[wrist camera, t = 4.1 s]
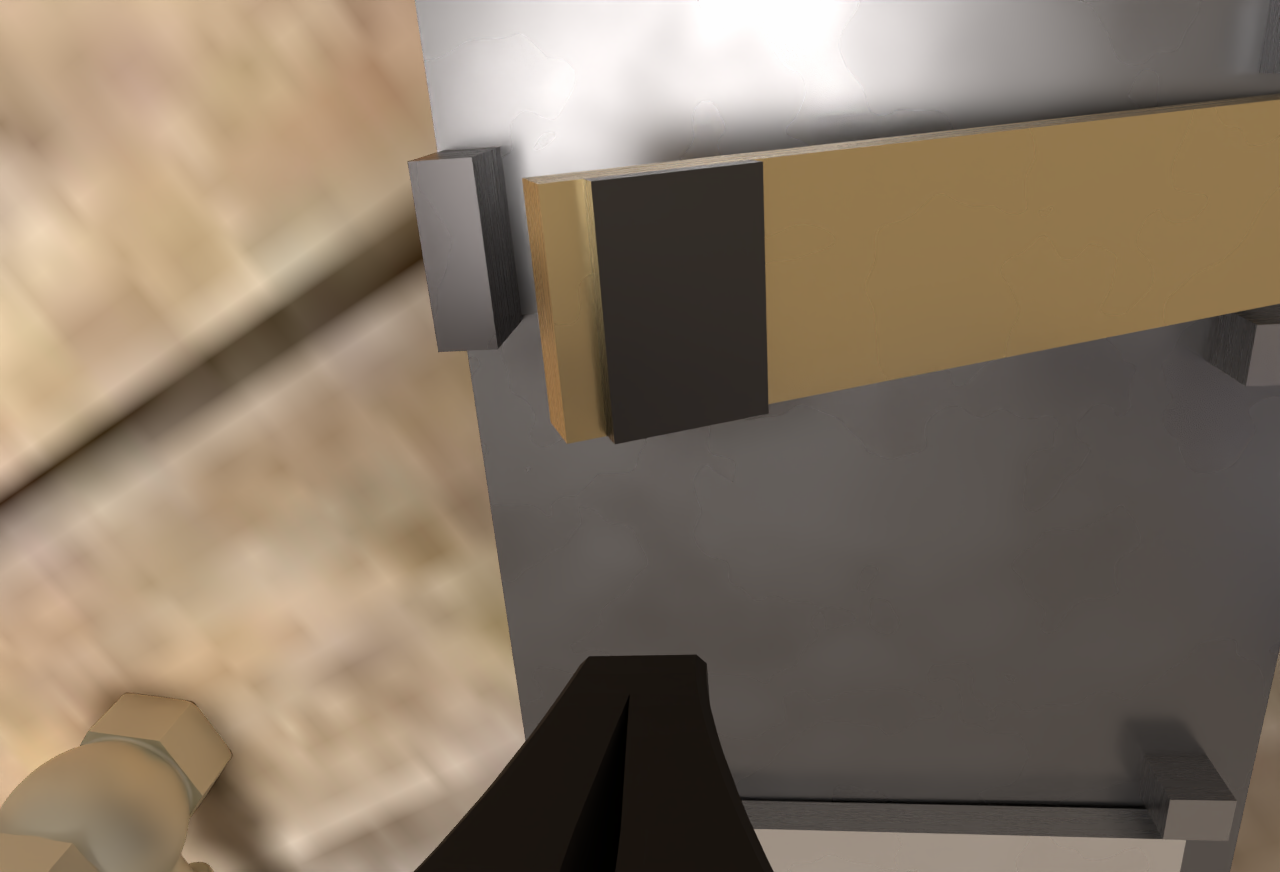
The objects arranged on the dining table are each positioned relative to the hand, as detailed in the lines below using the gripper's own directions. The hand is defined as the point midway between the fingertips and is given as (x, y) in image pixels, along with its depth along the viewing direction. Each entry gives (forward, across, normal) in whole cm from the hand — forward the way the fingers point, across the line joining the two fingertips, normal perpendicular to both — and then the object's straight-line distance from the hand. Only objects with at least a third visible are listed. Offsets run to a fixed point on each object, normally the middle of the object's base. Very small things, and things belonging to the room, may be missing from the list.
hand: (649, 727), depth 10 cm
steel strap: (+7, -3, +10) cm, 13 cm away
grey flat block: (+10, -4, +3) cm, 11 cm away
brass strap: (+5, -4, -4) cm, 8 cm away
